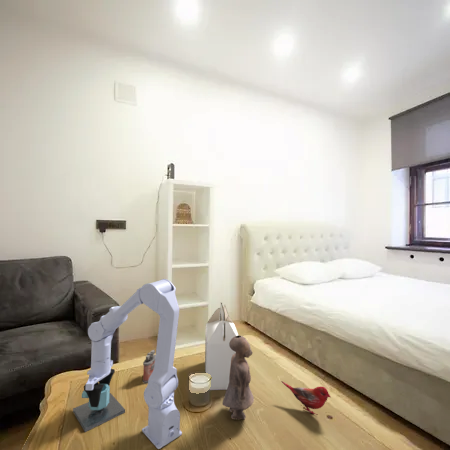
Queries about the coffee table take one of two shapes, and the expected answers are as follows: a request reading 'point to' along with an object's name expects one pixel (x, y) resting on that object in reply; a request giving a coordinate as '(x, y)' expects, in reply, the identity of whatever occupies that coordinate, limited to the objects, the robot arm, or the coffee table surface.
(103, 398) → the elbow collar
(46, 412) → the coffee table surface
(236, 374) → the clay figurine
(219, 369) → the gable box
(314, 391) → the decorative bird figurine
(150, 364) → the lighter
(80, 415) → the base
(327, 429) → the coffee table surface
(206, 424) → the coffee table surface
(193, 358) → the coffee table surface
